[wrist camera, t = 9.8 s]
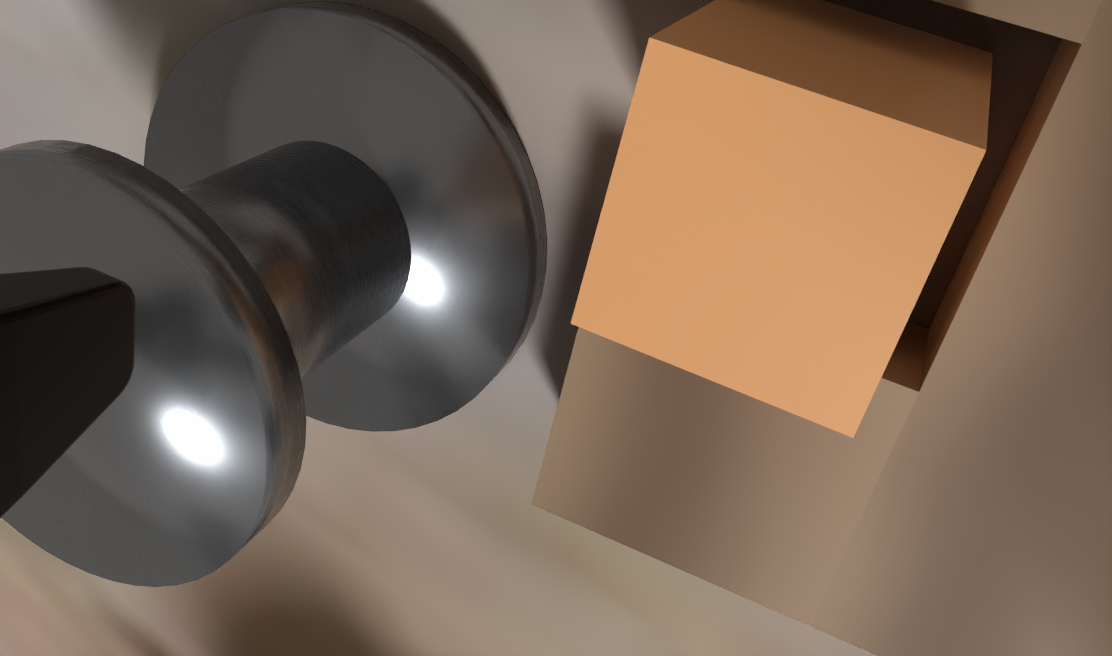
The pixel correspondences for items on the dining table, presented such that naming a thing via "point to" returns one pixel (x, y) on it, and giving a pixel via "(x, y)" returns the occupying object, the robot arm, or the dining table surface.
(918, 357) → the notched board
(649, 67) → the block
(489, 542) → the dining table surface
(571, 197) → the dining table surface
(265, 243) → the bobbin
